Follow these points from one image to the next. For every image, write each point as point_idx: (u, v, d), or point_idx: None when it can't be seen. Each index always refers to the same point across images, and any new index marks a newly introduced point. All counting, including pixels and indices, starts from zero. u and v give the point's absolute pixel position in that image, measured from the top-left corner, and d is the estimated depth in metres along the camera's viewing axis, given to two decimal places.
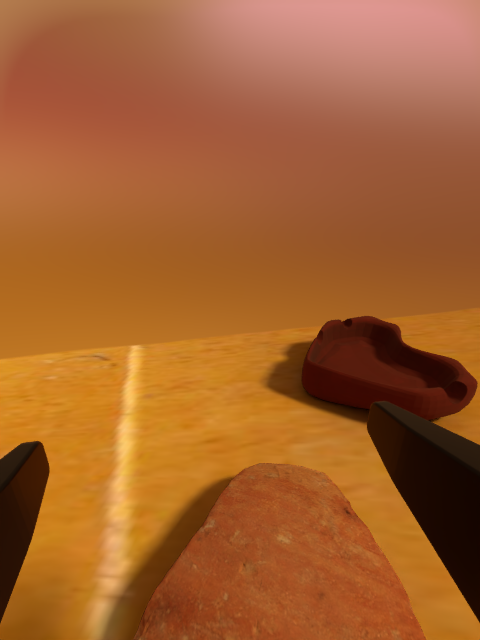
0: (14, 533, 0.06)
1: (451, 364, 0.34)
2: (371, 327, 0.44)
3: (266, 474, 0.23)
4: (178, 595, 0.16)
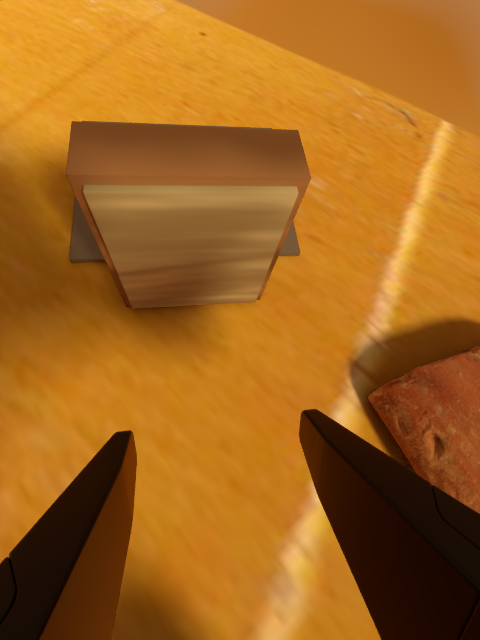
0: (124, 515, 0.07)
1: None
2: None
3: None
4: (442, 382, 0.20)
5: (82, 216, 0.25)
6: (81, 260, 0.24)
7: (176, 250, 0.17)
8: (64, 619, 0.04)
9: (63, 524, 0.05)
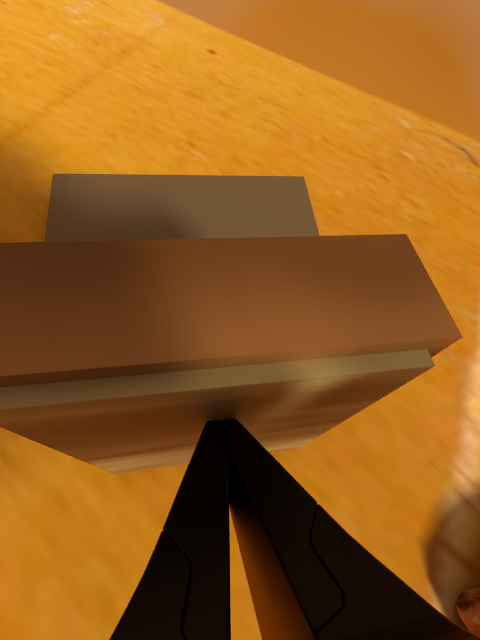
0: None
1: None
2: None
3: None
4: None
5: None
6: None
7: (182, 435, 0.09)
8: None
9: (201, 502, 0.06)
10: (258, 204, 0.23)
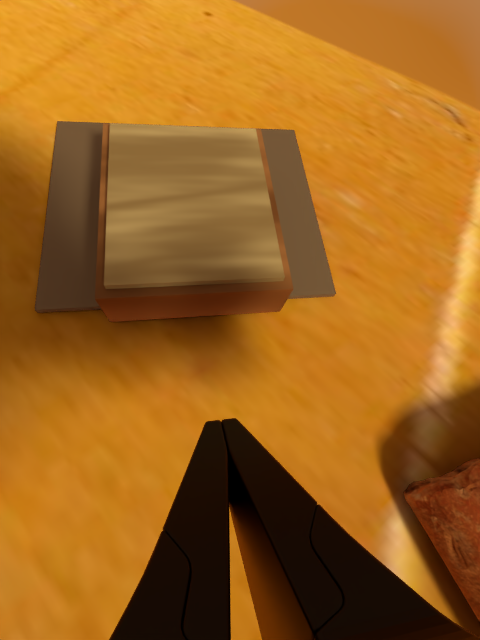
0: None
1: None
2: None
3: None
4: None
5: (54, 249, 0.19)
6: (51, 310, 0.18)
7: (171, 175, 0.18)
8: None
9: (201, 502, 0.06)
10: None
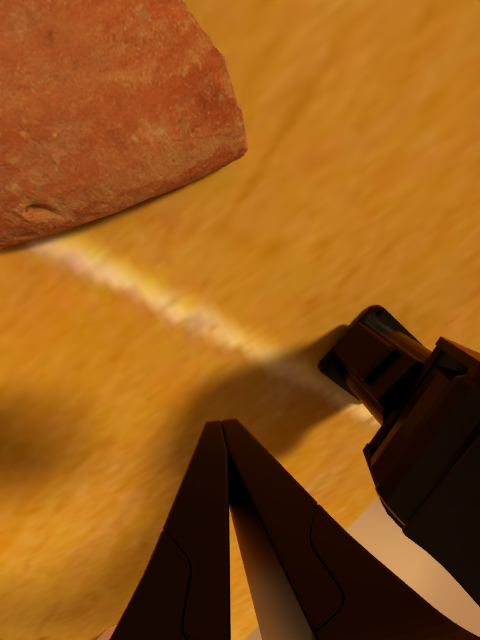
0: None
1: None
2: None
3: None
4: None
5: None
6: None
7: None
8: None
9: (201, 502, 0.06)
10: None
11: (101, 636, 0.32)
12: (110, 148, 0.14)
